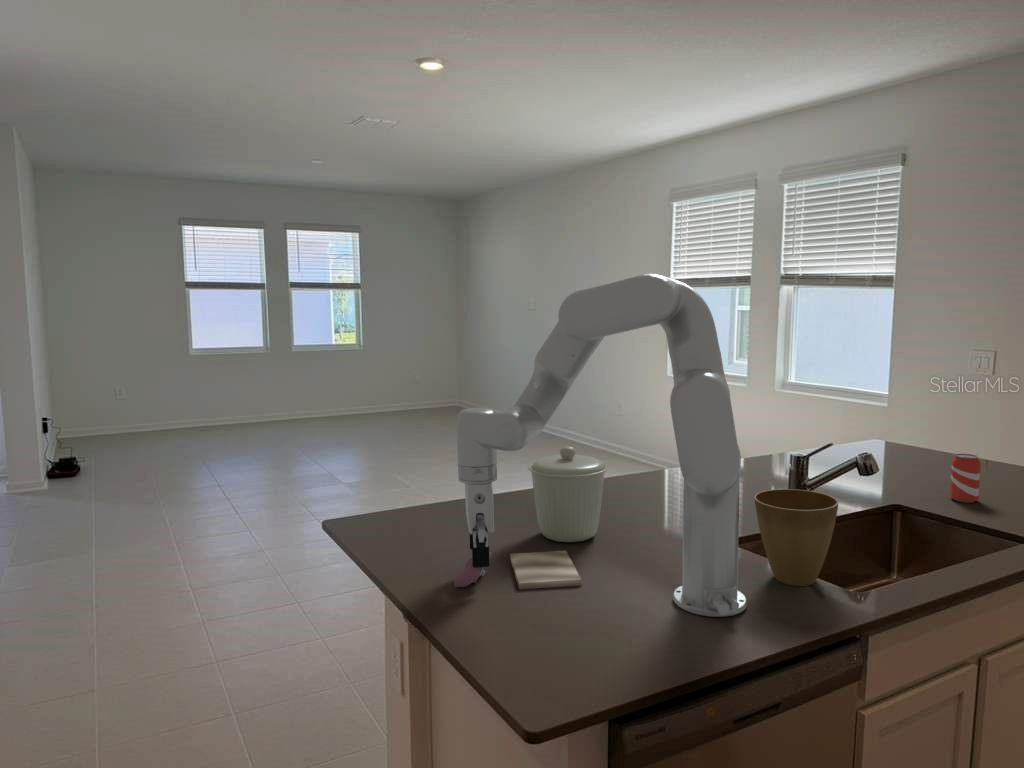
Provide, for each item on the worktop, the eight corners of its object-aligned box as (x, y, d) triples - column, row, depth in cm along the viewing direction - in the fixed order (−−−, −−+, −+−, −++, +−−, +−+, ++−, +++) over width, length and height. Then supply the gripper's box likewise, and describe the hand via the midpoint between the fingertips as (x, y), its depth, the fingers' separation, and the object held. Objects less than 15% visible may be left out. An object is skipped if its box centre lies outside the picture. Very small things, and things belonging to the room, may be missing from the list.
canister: (543, 553, 153) (542, 457, 151) (520, 527, 170) (518, 442, 168) (620, 544, 158) (620, 451, 155) (590, 520, 175) (589, 436, 173)
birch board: (581, 585, 135) (581, 579, 135) (519, 589, 134) (519, 583, 134) (566, 555, 151) (565, 550, 151) (510, 559, 150) (510, 553, 149)
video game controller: (472, 597, 134) (487, 566, 133) (451, 586, 135) (466, 555, 134) (483, 577, 144) (498, 548, 143) (464, 567, 144) (478, 538, 143)
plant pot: (812, 563, 144) (815, 486, 142) (850, 593, 129) (854, 508, 128) (741, 565, 144) (742, 489, 142) (771, 596, 129) (773, 510, 127)
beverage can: (977, 504, 182) (980, 459, 181) (948, 501, 186) (950, 456, 184) (979, 499, 187) (981, 454, 185) (950, 495, 191) (953, 452, 189)
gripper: (501, 482, 128) (502, 573, 130) (493, 461, 145) (494, 541, 147) (459, 484, 128) (461, 575, 130) (456, 462, 145) (458, 543, 147)
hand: (479, 557), depth 138 cm, fingers open, 9 cm apart
